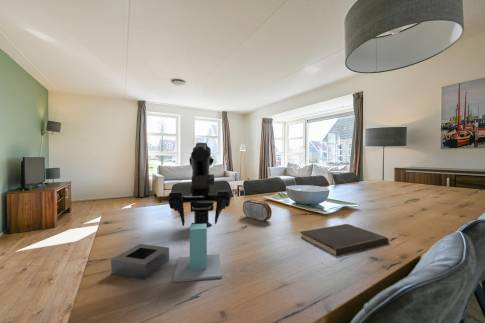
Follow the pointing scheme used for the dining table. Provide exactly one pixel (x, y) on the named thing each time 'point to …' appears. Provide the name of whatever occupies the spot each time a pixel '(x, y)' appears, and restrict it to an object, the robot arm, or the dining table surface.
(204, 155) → the robot arm
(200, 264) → the peg
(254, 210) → the portable speaker
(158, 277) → the dining table surface
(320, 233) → the hardcover book
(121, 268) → the socket block
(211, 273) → the mat
